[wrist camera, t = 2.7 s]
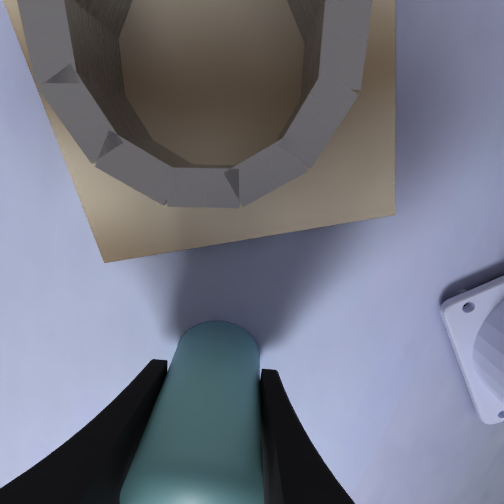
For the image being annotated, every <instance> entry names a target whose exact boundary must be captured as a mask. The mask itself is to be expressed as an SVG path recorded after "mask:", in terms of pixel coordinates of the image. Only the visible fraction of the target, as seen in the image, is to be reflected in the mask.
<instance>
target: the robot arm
mask: <svg viewBox="0 0 504 504" xmlns="http://www.w3.org/2000/svg"><path fill="white" fill-rule="evenodd" d="M467 302H468V304H467V305H466V306H465V307H463V306H464V304H466V303H467ZM440 314H441V317H442V319H443V322H444V325H445V328H446V330H447V333H448V336H449V338H450V341H451V344H452V347H453V349H454V352H455V355H456V358H457V360H458V363H459V366H460V368H461V371H462V374H463V377H464V379H465V382H466V385H467V388H468V390H469V393H470V396H471V398H472V401H473V404H474V407H475V409H476V412H477V415H478V416H479V418H480V419H481V420H482V421H483V422H484V423H486V424H495V423H498V422H501V421H504V276H501V277H499V278H497V279H494V280H492V281H490V282H487V283H485V284H483V285H480V286H478V287H476V288H473V289H471V290H469V291H466V292H464V293H462V294H459V295H457V296H455V297H452V298H450V299H448V300H446V301H444V302H443V304H442V305H441V307H440ZM166 375H167V360H157V359H153V360H151V361H150V362H149V363H148V364H147V365H146V367H145V368H144V369H143V370H142V371H141V372H140V373H139V374H138V375H137V377H136V378H135V379H134V380H133V381H132V382H131V383H130V384H129V385H128V386H127V387H126V388H125V389H124V390H123V391H122V392H121V393H120V394H119V395H118V396H117V397H116V398H115V399H114V400H113V401H112V402H111V403H110V404H109V405H108V406H107V407H106V408H105V409H104V410H102V411H101V412H100V413H99V414H98V415H97V416H96V417H95V418H94V419H93V420H92V421H90V422H89V423H88V424H87V425H86V426H85V427H83V428H82V429H81V430H80V431H79V432H77V433H76V434H75V435H74V436H73V437H71V438H70V439H69V440H68V441H66V442H65V443H64V444H63V445H61V446H60V447H59V448H57V449H56V450H55V451H53V452H52V453H51V454H49V455H48V456H47V457H45V458H44V459H43V460H41V461H40V462H39V463H37V464H36V465H34V466H33V467H32V468H30V469H29V470H27V471H26V472H24V473H23V474H21V475H20V476H18V477H17V478H15V479H14V480H12V481H11V482H9V483H8V484H6V485H5V486H3V487H2V488H0V504H120V492H121V489H122V486H123V484H124V481H125V479H126V476H127V474H128V471H129V469H130V466H131V464H132V461H133V458H134V456H135V453H136V451H137V448H138V446H139V443H140V441H141V438H142V436H143V433H144V431H145V428H146V425H147V423H148V420H149V418H150V415H151V413H152V410H153V408H154V405H155V403H156V400H157V397H158V395H159V392H160V390H161V387H162V385H163V382H164V380H165V377H166ZM260 394H261V424H262V455H263V487H264V504H355V503H354V502H353V500H352V499H351V498H350V496H349V495H348V494H347V493H346V491H345V490H344V489H343V487H342V486H341V485H340V484H339V482H338V481H337V480H336V478H335V477H334V475H333V474H332V472H331V471H330V470H329V468H328V467H327V465H326V464H325V462H324V461H323V459H322V458H321V456H320V455H319V453H318V452H317V450H316V448H315V447H314V445H313V444H312V442H311V440H310V439H309V437H308V435H307V433H306V432H305V430H304V428H303V426H302V424H301V423H300V421H299V419H298V417H297V415H296V413H295V411H294V409H293V407H292V405H291V403H290V401H289V398H288V396H287V394H286V392H285V389H284V387H283V385H282V382H281V379H280V377H279V374H278V372H277V371H276V370H271V369H262V372H261V379H260Z"/></svg>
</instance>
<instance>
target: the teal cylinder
mask: <svg viewBox="0 0 504 504" xmlns="http://www.w3.org/2000/svg"><path fill="white" fill-rule="evenodd" d="M120 504H264V487H263V455H262V424H261V394H260V361H259V349H258V346H257V344H256V342H255V340H254V339H253V337H252V336H251V335H250V334H249V333H248V332H247V331H245V330H244V329H243V328H241V327H239V326H237V325H235V324H232V323H229V322H223V321H210V322H205V323H201V324H198V325H196V326H194V327H192V328H191V329H190V330H188V331H187V332H186V333H185V334H184V335H183V337H182V338H181V340H180V342H179V344H178V347H177V349H176V352H175V354H174V357H173V359H172V362H171V364H170V367H169V370H168V372H167V375H166V377H165V380H164V382H163V385H162V387H161V390H160V392H159V395H158V397H157V400H156V403H155V405H154V408H153V410H152V413H151V415H150V418H149V420H148V423H147V425H146V428H145V431H144V433H143V436H142V438H141V441H140V443H139V446H138V448H137V451H136V453H135V456H134V458H133V461H132V464H131V466H130V469H129V471H128V474H127V476H126V479H125V481H124V484H123V486H122V489H121V492H120Z"/></svg>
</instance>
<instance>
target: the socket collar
mask: <svg viewBox="0 0 504 504" xmlns="http://www.w3.org/2000/svg"><path fill="white" fill-rule="evenodd" d="M287 2H288V4H289V7H290V9H291V11H292V14H293V16H294V19H295V21H296V24H297V26H298V29H299V31H300V34H301V36H302V39H303V41H304V55H303V69H302V83H301V97H300V101H299V102H298V104H297V106H296V108H295V109H294V111H293V113H292V114H291V116H290V118H289V120H288V121H287V123H286V125H285V126H284V128H283V130H282V131H281V133H280V135H279V137H278V138H277V140H276V142H275V143H273V144H272V145H270V146H268V147H266V148H265V149H263V150H261V151H260V152H258V153H256V154H255V155H253V156H251V157H249V158H248V159H246V160H244V161H243V162H241V163H239V164H237V165H207V164H192V163H190V162H189V161H187V160H185V159H184V158H182V157H180V156H179V155H177V154H175V153H174V152H172V151H170V150H169V149H167V148H165V147H164V146H162V145H161V144H159V143H157V142H156V141H154V140H153V139H152V137H151V136H150V134H149V133H148V131H147V129H146V128H145V126H144V125H143V123H142V121H141V120H140V118H139V117H138V115H137V113H136V112H135V110H134V109H133V107H132V105H131V104H130V102H129V100H128V99H127V97H126V96H125V88H124V80H123V72H122V63H121V55H120V47H119V36H120V33H121V31H122V28H123V25H124V22H125V20H126V17H127V14H128V11H129V9H130V6H131V3H132V0H17V3H18V8H19V12H20V17H21V21H22V26H23V30H24V35H25V40H26V44H27V49H28V53H29V58H30V63H31V67H32V72H33V76H34V81H35V83H37V84H40V86H39V87H38V90H39V91H40V92H41V94H42V95H43V97H44V98H45V99H46V101H47V102H48V104H49V105H50V106H51V108H52V109H53V111H54V112H55V114H56V115H57V116H58V118H59V119H60V121H61V122H62V123H63V125H64V126H65V128H66V129H67V130H68V132H69V133H70V135H71V136H72V137H73V139H74V140H75V142H76V143H77V144H78V146H79V147H80V149H81V150H82V151H83V153H84V154H85V156H86V157H87V158H88V160H89V161H90V163H91V164H93V163H96V165H95V167H96V168H98V169H100V170H101V171H103V172H105V173H107V174H108V175H110V176H112V177H114V178H115V179H117V180H119V181H121V182H123V183H124V184H126V185H128V186H130V187H131V188H133V189H135V190H137V191H138V192H140V193H142V194H144V195H145V196H147V197H149V198H151V199H152V200H154V201H156V202H158V203H160V204H161V205H163V206H164V205H165V204H167V207H204V208H239V206H240V203H241V205H242V207H244V206H246V205H248V204H250V203H251V202H253V201H255V200H257V199H259V198H260V197H262V196H264V195H266V194H268V193H270V192H271V191H273V190H275V189H277V188H279V187H280V186H282V185H284V184H286V183H288V182H289V181H291V180H293V179H295V178H297V177H298V176H300V175H302V174H304V173H306V172H308V170H307V168H306V167H308V168H312V166H313V165H314V163H315V162H316V160H317V159H318V157H319V156H320V154H321V152H322V151H323V149H324V148H325V146H326V145H327V143H328V142H329V140H330V139H331V137H332V136H333V134H334V132H335V131H336V129H337V128H338V126H339V125H340V123H341V122H342V120H343V119H344V117H345V115H346V114H347V112H348V111H349V109H350V108H351V106H352V105H353V103H354V102H355V100H356V99H357V97H358V94H357V93H356V92H358V91H360V90H361V84H362V77H363V69H364V62H365V55H366V47H367V40H368V33H369V25H370V18H371V11H372V3H373V0H287Z"/></svg>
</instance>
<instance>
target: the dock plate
mask: <svg viewBox="0 0 504 504" xmlns="http://www.w3.org/2000/svg"><path fill="white" fill-rule="evenodd" d="M3 2H4V4H5V7H6V10H7V12H8V15H9V17H10V20H11V23H12V25H13V28H14V30H15V33H16V35H17V38H18V41H19V43H20V46H21V48H22V51H23V54H24V56H25V59H26V61H27V64H28V67H29V69H30V72H31V74H32V77H33V80H34V76H33V72H32V67H31V63H30V58H29V53H28V49H27V44H26V40H25V35H24V30H23V26H22V21H21V17H20V12H19V8H18V3H17V0H3ZM395 46H396V0H373V3H372V11H371V18H370V25H369V33H368V40H367V47H366V55H365V62H364V69H363V77H362V84H361V90H360V91H358V92H356V93H357V94H358V97H357V99H356V100H355V102H354V103H353V105H352V106H351V108H350V109H349V111H348V112H347V114H346V115H345V117H344V119H343V120H342V122H341V123H340V125H339V126H338V128H337V129H336V131H335V132H334V134H333V136H332V137H331V139H330V140H329V142H328V143H327V145H326V146H325V148H324V149H323V151H322V152H321V154H320V156H319V157H318V159H317V160H316V162H315V163H314V165H313V166H312V168H308V167H306V168H307V170H308V172H306V173H304V174H302V175H300V176H298V177H297V178H295V179H293V180H291V181H289V182H288V183H286V184H284V185H282V186H280V187H279V188H277V189H275V190H273V191H271V192H270V193H268V194H266V195H264V196H262V197H260V198H259V199H257V200H255V201H253V202H251V203H250V204H248V205H246V206H244V207H242V205H241V203H240V206H239V208H204V207H167V204H165V205H164V206H163V205H161V204H160V203H158V202H156V201H154V200H152V199H151V198H149V197H147V196H145V195H144V194H142V193H140V192H138V191H137V190H135V189H133V188H131V187H130V186H128V185H126V184H124V183H123V182H121V181H119V180H117V179H115V178H114V177H112V176H110V175H108V174H107V173H105V172H103V171H101V170H100V169H98V168H96V167H95V165H96V163H93V164H91V163H90V161H89V160H88V158H87V157H86V156H85V154H84V153H83V151H82V150H81V149H80V147H79V146H78V144H77V143H76V142H75V140H74V139H73V137H72V136H71V135H70V133H69V132H68V130H67V129H66V128H65V126H64V125H63V123H62V122H61V121H60V119H59V118H58V116H57V115H56V114H55V112H54V111H53V109H52V108H51V106H50V105H49V104H48V102H47V101H46V99H45V98H44V97H43V95H42V94H41V92H40V91H39V90H38V87H39V86H40V84H37V83H35V85H36V87H37V90H38V92H39V95H40V98H41V100H42V103H43V105H44V108H45V111H46V113H47V116H48V118H49V121H50V124H51V126H52V129H53V131H54V134H55V137H56V139H57V142H58V144H59V147H60V150H61V152H62V155H63V157H64V160H65V162H66V165H67V168H68V170H69V173H70V175H71V178H72V181H73V183H74V186H75V188H76V191H77V194H78V196H79V199H80V201H81V204H82V207H83V209H84V212H85V214H86V217H87V219H88V222H89V225H90V227H91V230H92V232H93V235H94V238H95V240H96V243H97V245H98V248H99V251H100V253H101V256H102V258H103V261H104V263H108V262H114V261H120V260H126V259H132V258H138V257H144V256H150V255H156V254H162V253H168V252H174V251H180V250H186V249H192V248H198V247H204V246H211V245H217V244H223V243H229V242H235V241H241V240H247V239H253V238H259V237H265V236H271V235H277V234H283V233H289V232H295V231H301V230H307V229H313V228H319V227H325V226H331V225H337V224H343V223H349V222H355V221H361V220H367V219H374V218H380V217H386V216H392V215H395ZM119 47H120V55H121V63H122V72H123V80H124V88H125V96H126V97H127V99H128V100H129V102H130V104H131V105H132V107H133V109H134V110H135V112H136V113H137V115H138V117H139V118H140V120H141V121H142V123H143V125H144V126H145V128H146V129H147V131H148V133H149V134H150V136H151V137H152V139H153V140H154V141H156V142H157V143H159V144H161V145H162V146H164V147H165V148H167V149H169V150H170V151H172V152H174V153H175V154H177V155H179V156H180V157H182V158H184V159H185V160H187V161H189V162H190V163H192V164H207V165H237V164H239V163H241V162H243V161H244V160H246V159H248V158H249V157H251V156H253V155H255V154H256V153H258V152H260V151H261V150H263V149H265V148H266V147H268V146H270V145H272V144H273V143H275V142H276V140H277V138H278V137H279V135H280V133H281V131H282V130H283V128H284V126H285V125H286V123H287V121H288V120H289V118H290V116H291V114H292V113H293V111H294V109H295V108H296V106H297V104H298V102H299V101H300V97H301V83H302V69H303V55H304V41H303V39H302V36H301V34H300V31H299V29H298V26H297V24H296V21H295V19H294V16H293V14H292V11H291V9H290V7H289V4H288V2H287V0H132V3H131V6H130V9H129V11H128V14H127V17H126V20H125V22H124V25H123V28H122V31H121V33H120V36H119ZM34 82H35V81H34Z"/></svg>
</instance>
